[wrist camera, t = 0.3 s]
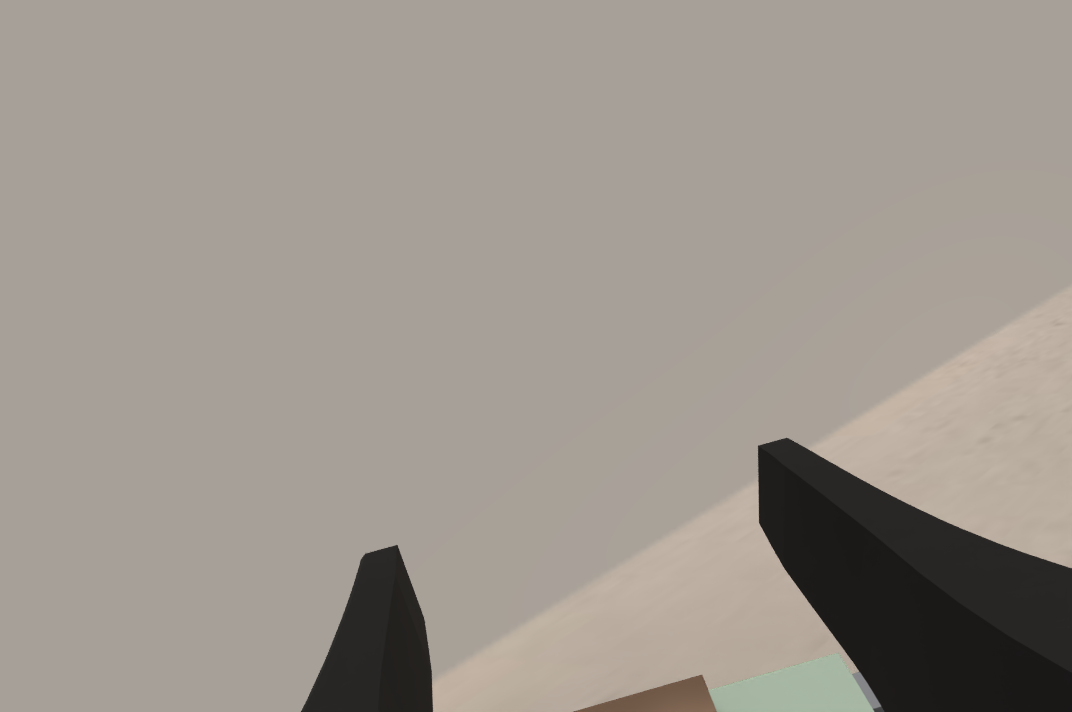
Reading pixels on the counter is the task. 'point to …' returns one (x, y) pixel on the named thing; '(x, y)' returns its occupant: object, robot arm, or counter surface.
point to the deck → (800, 690)
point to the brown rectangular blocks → (663, 699)
